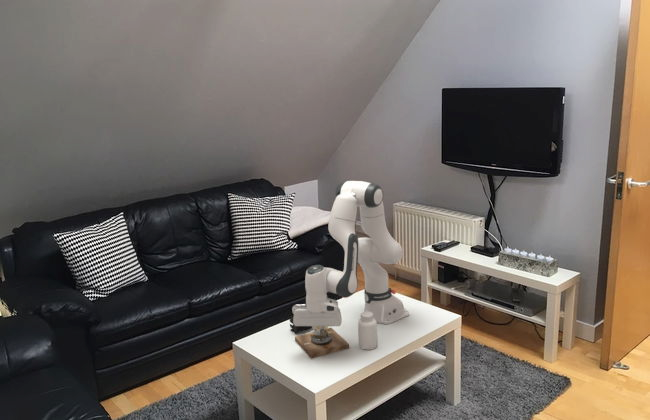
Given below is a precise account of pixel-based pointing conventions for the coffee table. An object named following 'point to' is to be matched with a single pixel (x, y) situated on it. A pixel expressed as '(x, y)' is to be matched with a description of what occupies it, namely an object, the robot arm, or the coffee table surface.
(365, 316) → the pill bottle
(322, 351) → the base plate
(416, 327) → the coffee table surface
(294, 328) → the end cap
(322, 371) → the coffee table surface
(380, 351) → the coffee table surface
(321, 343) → the post collar
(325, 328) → the crank handle
